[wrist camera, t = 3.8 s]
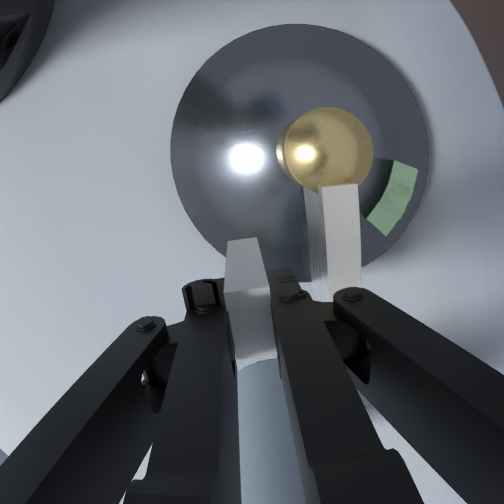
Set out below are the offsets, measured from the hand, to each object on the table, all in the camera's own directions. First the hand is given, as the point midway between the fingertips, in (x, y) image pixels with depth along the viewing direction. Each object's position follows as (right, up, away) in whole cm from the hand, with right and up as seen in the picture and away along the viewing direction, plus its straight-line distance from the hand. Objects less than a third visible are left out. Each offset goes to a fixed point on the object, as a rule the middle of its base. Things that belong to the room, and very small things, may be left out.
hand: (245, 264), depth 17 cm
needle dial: (+4, +4, +3) cm, 6 cm away
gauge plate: (+4, +7, +3) cm, 9 cm away
